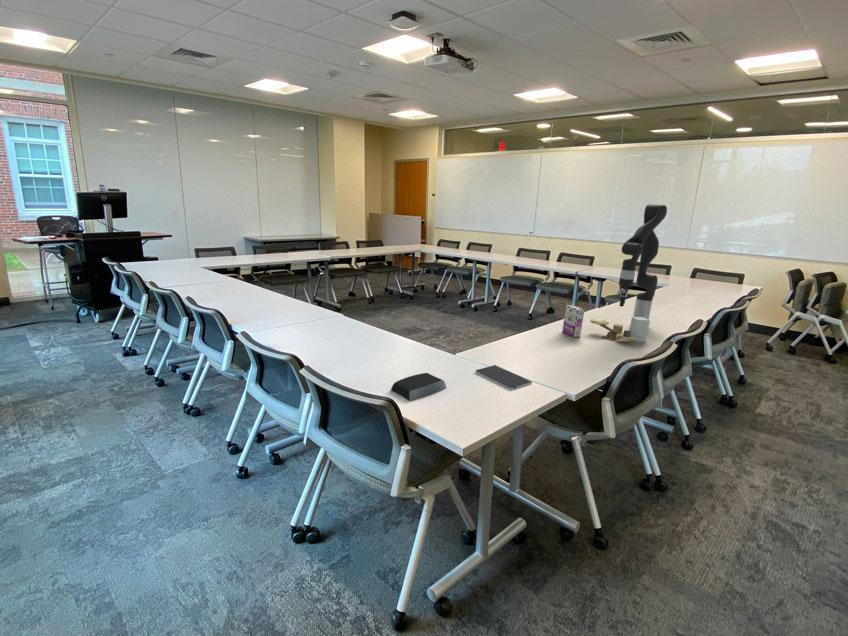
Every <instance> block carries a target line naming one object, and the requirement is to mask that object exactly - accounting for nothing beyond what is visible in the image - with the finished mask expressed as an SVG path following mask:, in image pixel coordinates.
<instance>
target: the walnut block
mask: <svg viewBox="0 0 848 636" xmlns="http://www.w3.org/2000/svg"><path fill="white" fill-rule="evenodd" d="M623 327H624V324H620V323H613V327H612V329H613V330H615V331H617V332H619V333H623Z"/></svg>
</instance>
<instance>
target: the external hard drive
mask: <svg viewBox="0 0 848 636" xmlns="http://www.w3.org/2000/svg"><path fill="white" fill-rule="evenodd" d="M446 389H447V386H446V382H445V380H444V379H441V378H439V377H437V376H435V375H433V374H430V373H429V372H424V373H419V374H414V375H410V376H406V377H404V378H402V379H399V380H397V381H395V382H394V383H393V384H392V386H391V388H390V391H391V392H393V393H395V394H396V395H398V396H400V397H402V398H404V399H406V400H407V401H410V402H411V401H415V400H418V399H422V398H426V397H427V396H430V395H431V396H432V395H434V394H437V393H439V392H441V391H443V390H446Z"/></svg>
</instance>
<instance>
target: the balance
mask: <svg viewBox="0 0 848 636" xmlns="http://www.w3.org/2000/svg"><path fill="white" fill-rule="evenodd" d="M590 322H591V323H592V324H594V325H598V326H599V327H602V328H604V329H606V330H607V333H606V335H602V336H601V338H602V339H605V340H609V341H614V340H618V339H619V340H620V339H622V340H625V341H626V340H627V341H628V340H629V341H633V340H635V339H636V336H634V335H631V331H629V330H630V329H629V330H627V329H625V330H623V332H622V333H619V332H617V331H615V330H613V328H611V327H610V326H608V325H609V324H610V322H609V321H607V320H606V319H600V318H591V319H590Z"/></svg>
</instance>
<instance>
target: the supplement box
mask: <svg viewBox="0 0 848 636" xmlns="http://www.w3.org/2000/svg"><path fill="white" fill-rule="evenodd" d="M649 326H650V319H649V320H648V319H646V318H644V317H633V316H631V319H630V325H629V331H631V335H634V336H636V339H635V340H632V341H633V342H644V343H645V342H647V338H648V331H649V329H650V328H649Z"/></svg>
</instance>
